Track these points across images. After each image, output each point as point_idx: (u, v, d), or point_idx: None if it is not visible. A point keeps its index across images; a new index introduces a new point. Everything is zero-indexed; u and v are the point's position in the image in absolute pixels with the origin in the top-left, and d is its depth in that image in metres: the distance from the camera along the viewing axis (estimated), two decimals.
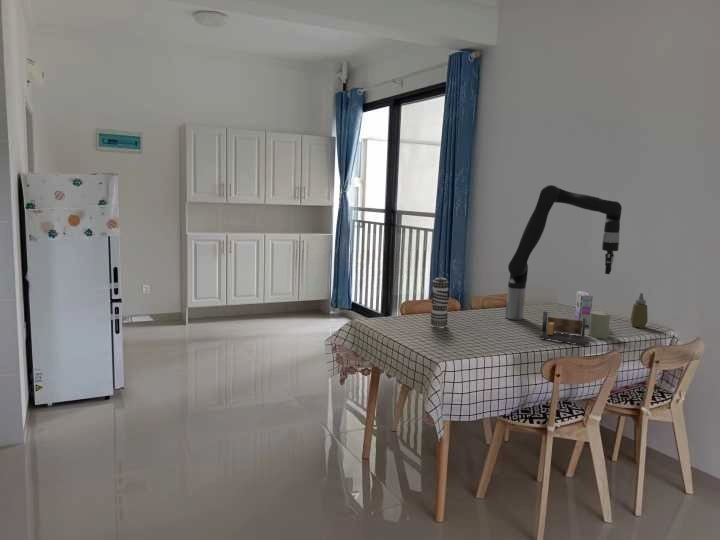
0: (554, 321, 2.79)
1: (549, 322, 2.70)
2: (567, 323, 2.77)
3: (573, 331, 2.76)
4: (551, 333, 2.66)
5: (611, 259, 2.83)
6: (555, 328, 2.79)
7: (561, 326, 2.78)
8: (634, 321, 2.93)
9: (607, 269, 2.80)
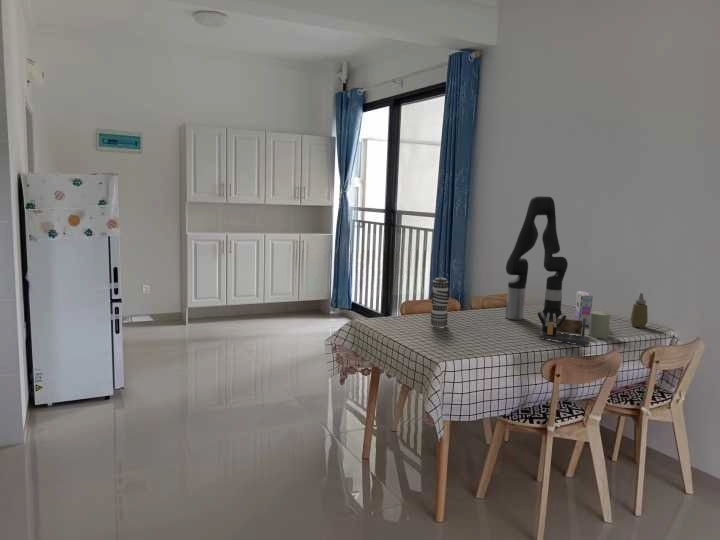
0: None
1: (549, 322, 2.70)
2: (567, 323, 2.77)
3: (573, 331, 2.76)
4: (551, 333, 2.66)
5: None
6: None
7: (561, 326, 2.78)
8: (634, 321, 2.93)
9: (556, 329, 2.67)
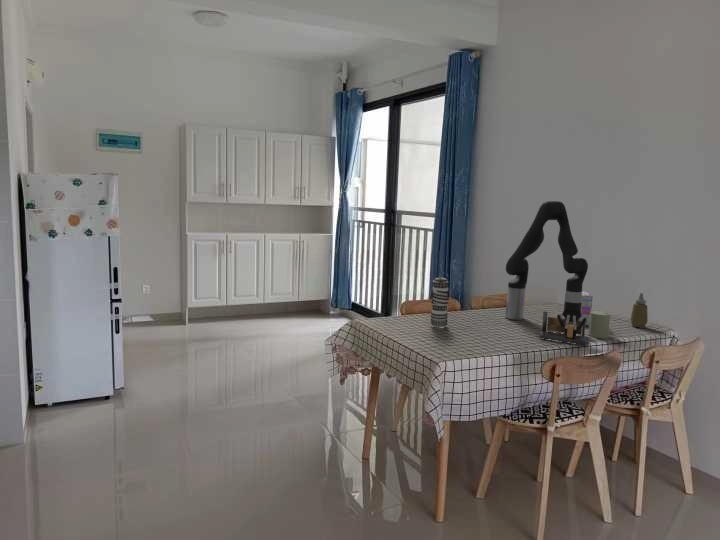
0: (554, 321, 2.79)
1: (569, 324, 2.66)
2: None
3: None
4: (571, 336, 2.62)
5: None
6: (555, 328, 2.79)
7: (561, 326, 2.78)
8: (634, 321, 2.93)
9: None
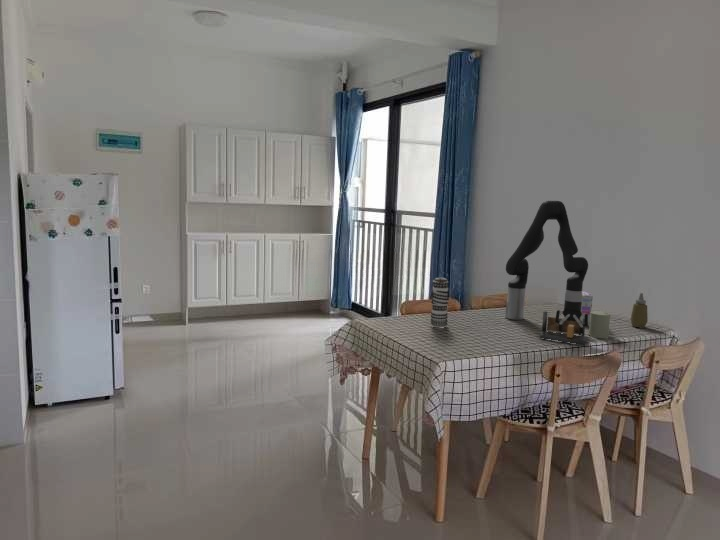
0: (554, 321, 2.79)
1: (569, 324, 2.66)
2: (567, 323, 2.77)
3: None
4: (571, 336, 2.62)
5: None
6: (555, 328, 2.79)
7: None
8: (634, 321, 2.93)
9: (582, 329, 2.62)
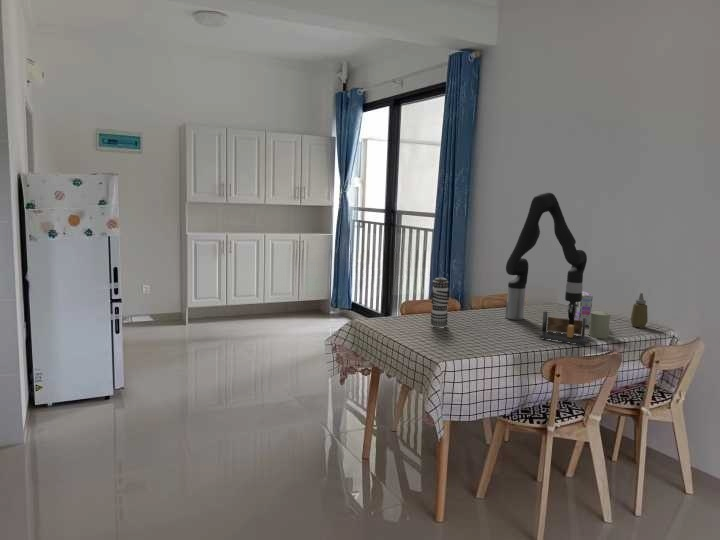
0: (554, 321, 2.79)
1: (569, 324, 2.66)
2: (567, 323, 2.77)
3: None
4: (571, 336, 2.62)
5: None
6: (555, 328, 2.79)
7: (561, 326, 2.78)
8: (634, 321, 2.93)
9: None
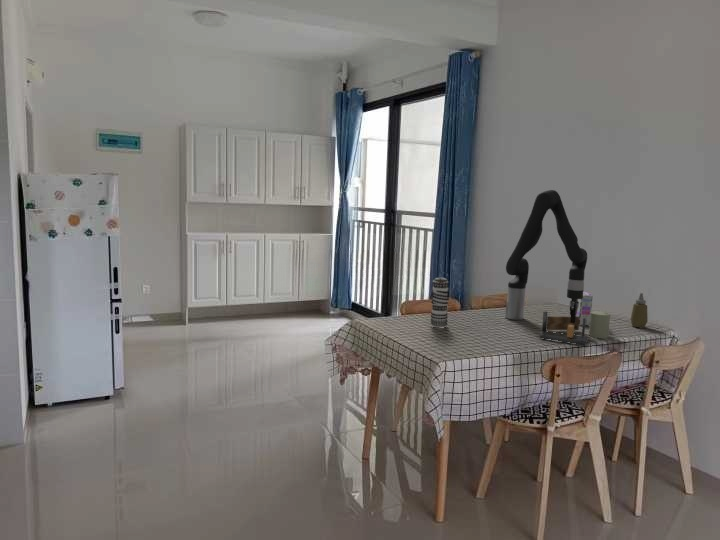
0: (554, 320, 2.82)
1: (569, 324, 2.66)
2: (566, 320, 2.82)
3: None
4: (571, 336, 2.62)
5: None
6: (555, 327, 2.82)
7: (560, 324, 2.82)
8: (634, 321, 2.93)
9: None
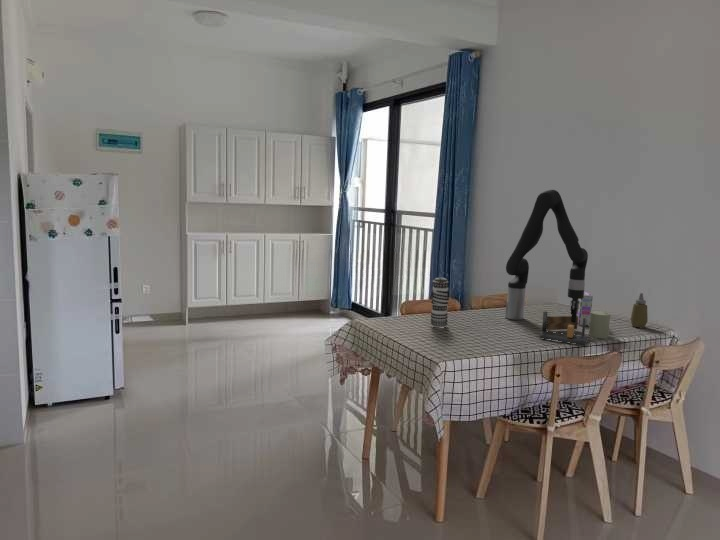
0: (554, 320, 2.82)
1: (569, 324, 2.66)
2: (565, 320, 2.83)
3: None
4: (571, 336, 2.62)
5: None
6: (555, 326, 2.83)
7: (560, 324, 2.83)
8: (634, 321, 2.93)
9: None
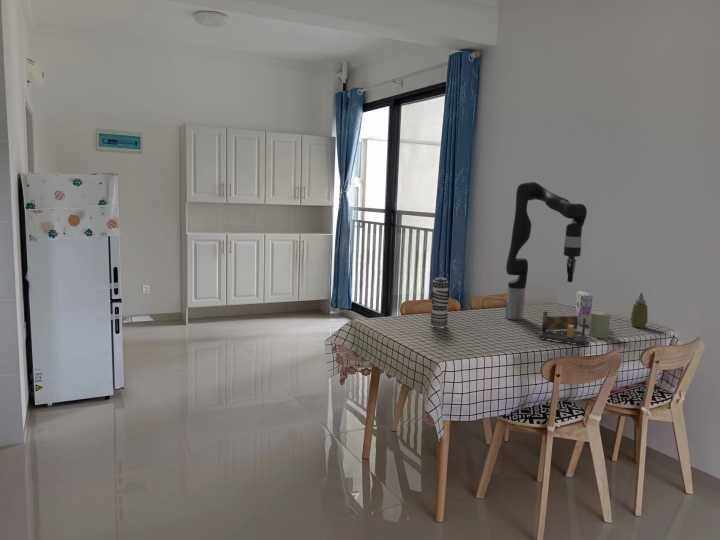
0: (554, 320, 2.82)
1: (569, 324, 2.66)
2: (565, 320, 2.83)
3: None
4: (571, 336, 2.62)
5: (568, 263, 2.69)
6: (555, 326, 2.83)
7: (560, 324, 2.83)
8: (634, 321, 2.93)
9: None
